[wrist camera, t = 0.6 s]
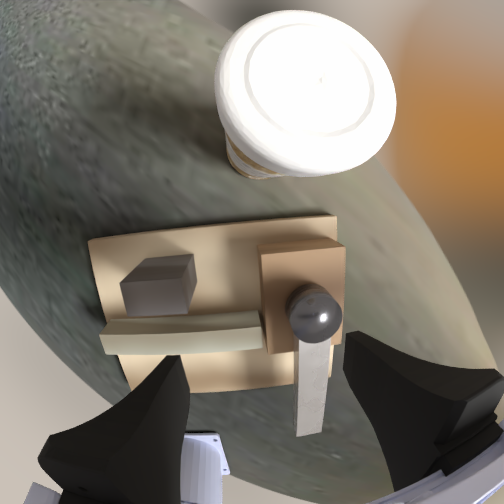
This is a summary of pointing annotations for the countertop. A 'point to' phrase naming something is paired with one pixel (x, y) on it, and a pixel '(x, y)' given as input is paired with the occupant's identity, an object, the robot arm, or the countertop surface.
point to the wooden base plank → (214, 297)
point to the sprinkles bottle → (301, 96)
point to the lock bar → (311, 352)
